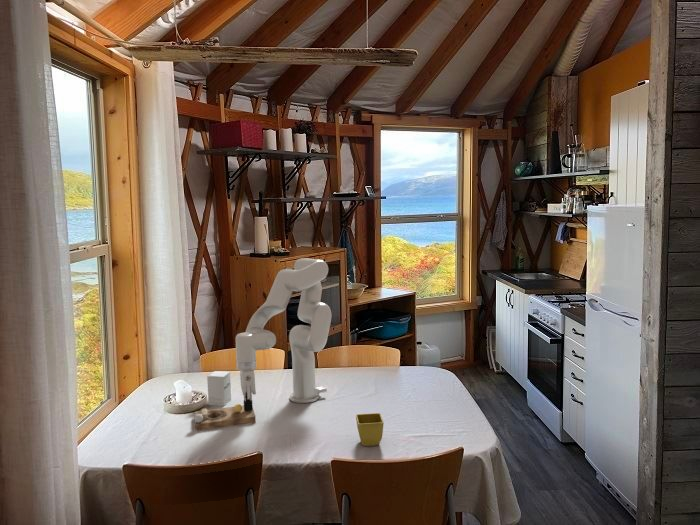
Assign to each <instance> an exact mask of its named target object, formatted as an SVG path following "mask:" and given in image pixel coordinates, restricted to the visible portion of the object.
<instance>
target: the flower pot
mask: <svg viewBox="0 0 700 525" xmlns="http://www.w3.org/2000/svg"><path fill="white" fill-rule="evenodd" d="M355 419H356V427H357V432H358V435H359V436H358V437H359V440H360V442H361V444H362V446H363V447H371V446H379V444H380V443H381V441H382V438H383V435H384V434H383V433H384V432H383V431H384V420H383V417H382V415H381V413H380V412H378V413H377V412H376V413H357V414H355Z"/></svg>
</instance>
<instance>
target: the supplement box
mask: <svg viewBox="0 0 700 525" xmlns="http://www.w3.org/2000/svg"><path fill="white" fill-rule="evenodd" d="M206 378H207V381H206V382H207V396H208V398H207V400H208V405H209V406H222V407H224V406H226V405H227V404H228V403H229V402H230V401H231V400H232V387H231V386H232V385H231V371H225V370H224V371H221V370H219V371H218V370H215V371H212V372H211V373H210V374H208V375H207V376H206Z"/></svg>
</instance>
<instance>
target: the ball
mask: <svg viewBox="0 0 700 525" xmlns="http://www.w3.org/2000/svg"><path fill="white" fill-rule="evenodd" d="M242 406H243V405H241V404H239V403H237V404H235V405H234V406H233V407H234V411H235V412H237V413H239V412H241V410H242Z"/></svg>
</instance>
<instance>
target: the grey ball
mask: <svg viewBox="0 0 700 525" xmlns="http://www.w3.org/2000/svg"><path fill="white" fill-rule="evenodd" d="M193 420H194V422H195V423H196V422H197V423H200V422H201V421H202V420H203V416H202V415H201V414H197V415H195V416H194V417H193Z"/></svg>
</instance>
